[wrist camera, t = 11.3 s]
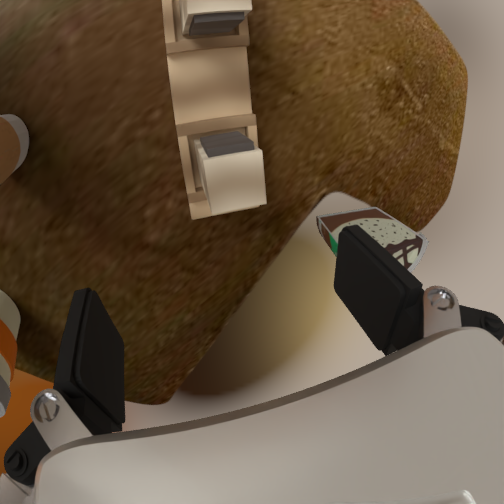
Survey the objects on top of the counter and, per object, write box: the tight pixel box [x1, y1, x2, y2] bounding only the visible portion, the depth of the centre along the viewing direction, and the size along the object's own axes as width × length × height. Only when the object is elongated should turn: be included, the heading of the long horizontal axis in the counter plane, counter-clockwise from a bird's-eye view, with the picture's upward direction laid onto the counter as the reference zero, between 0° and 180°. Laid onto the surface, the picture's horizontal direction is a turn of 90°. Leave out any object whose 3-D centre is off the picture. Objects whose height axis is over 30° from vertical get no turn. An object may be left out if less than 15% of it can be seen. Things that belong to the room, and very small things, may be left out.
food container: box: [317, 207, 428, 273], centre depth 34 cm, size 12×6×10 cm, turn 93°
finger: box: [194, 131, 267, 215], centre depth 23 cm, size 5×4×8 cm
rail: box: [162, 0, 259, 220], centre depth 20 cm, size 26×7×10 cm, turn 5°
